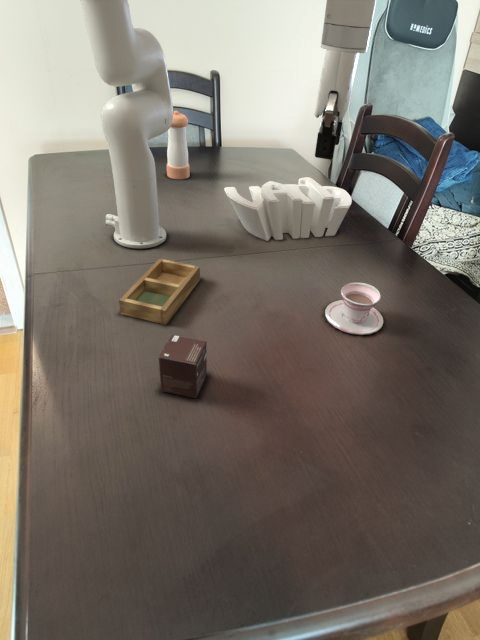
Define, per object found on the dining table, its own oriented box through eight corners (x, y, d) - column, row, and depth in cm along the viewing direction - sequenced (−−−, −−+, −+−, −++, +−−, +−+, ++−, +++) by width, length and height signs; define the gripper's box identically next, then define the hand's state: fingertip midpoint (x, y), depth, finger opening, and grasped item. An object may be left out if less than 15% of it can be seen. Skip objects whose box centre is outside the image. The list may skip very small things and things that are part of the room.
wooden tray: (121, 314, 89) (119, 300, 86) (160, 271, 102) (159, 258, 100) (166, 324, 87) (165, 310, 85) (199, 279, 101) (199, 266, 99)
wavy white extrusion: (233, 242, 116) (235, 201, 109) (220, 215, 128) (221, 177, 121) (359, 236, 125) (367, 198, 118) (335, 211, 137) (342, 176, 130)
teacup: (370, 343, 88) (377, 317, 84) (314, 320, 92) (319, 294, 88) (391, 315, 96) (399, 290, 92) (339, 295, 100) (344, 270, 96)
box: (196, 399, 73) (195, 365, 68) (160, 392, 73) (157, 357, 69) (207, 374, 77) (207, 340, 73) (173, 367, 78) (171, 333, 73)
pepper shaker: (188, 180, 146) (186, 114, 134) (165, 178, 146) (161, 112, 134) (191, 172, 152) (190, 109, 140) (169, 170, 152) (166, 106, 140)
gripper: (328, 32, 80) (314, 136, 91) (314, 40, 67) (299, 161, 78) (371, 37, 79) (351, 141, 90) (365, 47, 66) (342, 167, 77)
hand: (327, 150), depth 84 cm, fingers open, 9 cm apart
